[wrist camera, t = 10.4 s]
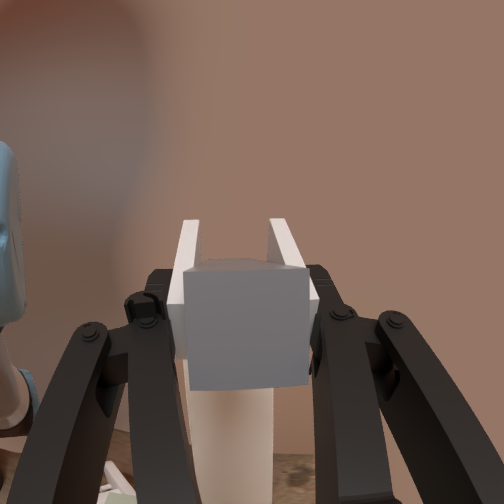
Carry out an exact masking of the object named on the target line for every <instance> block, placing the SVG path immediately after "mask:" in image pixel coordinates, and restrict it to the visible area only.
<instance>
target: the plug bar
mask: <svg viewBox="0 0 504 504" xmlns="http://www.w3.org/2000/svg"><path fill="white" fill-rule="evenodd" d="M183 290H184V313H185V331H186V347H187V361H188V374H189V385H190V391H223V390H248V389H264V388H278V387H289V386H299V385H308V379H309V336H310V268H304V267H298V266H292V265H285V264H279V263H273V262H268V261H262V260H256V259H250V258H237V259H236V258H235V259H208V260H206V261H204V262H202V263H200V264H198V265H196V266H194V267H192V268H189V269H187V270H185V271H183Z"/></svg>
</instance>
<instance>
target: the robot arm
mask: <svg viewBox="0 0 504 504" xmlns="http://www.w3.org/2000/svg"><path fill="white" fill-rule="evenodd" d="M267 261H268V262H273V263H279V264H285V265H292V266H298V267H304V268H310V336H309V348H310V345H311V348H312V351H313V356H312V360H311V364H310V368H309V375H311V372H312V388H313V406H314V435H315V480H316V504H402V503H401V502H400V501H399V500H397V499H395V497H394V495H393V491H392V483H391V476H390V469H389V462H388V456H387V450H386V443H385V438H384V432H383V426H382V421H381V416H380V410H381V412H382V414H383V416H384V418H385V420H386V422H387V424H388V426H389V429H390V430H391V433H392V435H393V437H394V439H395V441H396V443H397V446H398V448H399V450H400V452H401V454H402V456H403V458H404V461H405V463H406V465H407V467H408V469H409V472H410V474H411V476H412V478H413V481H414V483H415V485H416V487H417V490H418V492H419V494H420V497H421V499H422V501H423V504H504V464H503V462H502V460H501V458H500V456H499V455H498V453H497V451H496V449H495V447H494V446H493V444H492V442H491V441H490V439H489V437H488V435H487V434H486V432H485V431H484V429H483V427H482V425H481V424H480V422H479V421H478V419H477V417H476V416H475V414H474V412H473V411H472V409H471V408H470V406H469V404H468V403H467V401H466V400H465V398H464V397H463V395H462V393H461V392H460V390H459V389H458V387H457V386H456V384H455V383H454V381H453V380H452V378H451V377H450V375H449V374H448V373H447V371H446V369H445V368H444V366H443V365H442V364H441V362H440V361H439V359H438V358H437V356H436V355H435V354H434V352H433V351H432V349H431V348H430V346H429V345H428V344H427V342H426V341H425V339H424V338H423V337H422V335H421V334H420V333H419V331H418V330H417V329H416V327H415V326H414V324H413V323H412V322H411V320H410V319H409V318H408V317H407V316H406V315H404V314H402V313H400V312H397V311H385V312H383V313H381V315H380V316H379V318H378V320H375V319H368V318H362V317H359V316H358V315H357V313H356V311H355V310H354V309H353V308H352V307H350V306H348V305H346V304H344V303H343V301H342V299H341V297H340V295H339V293H338V291H337V289H336V287H335V285H334V283H333V281H332V280H331V277H330V275H329V274H328V272H327V270H326V269H324V268H323V267H322V266H321V265H305V264H304V262H303V259H302V257H301V255H300V253H299V250H298V248H297V246H296V244H295V241H294V239H293V237H292V234H291V232H290V230H289V228H288V226H287V223H286V221H285V219H270V220H269V237H268V253H267ZM200 263H201V247H200V229H199V220H184V223H183V227H182V232H181V236H180V240H179V245H178V249H177V254H176V259H175V264H174V269H155V270H154V271H153V272H152V273H151V274H150V275H149V277H148V280H147V283H146V287H145V291H140V292H136V293H134V294H132V295H130V296H129V297H128V298H127V299H126V300H125V303H124V307H125V311H126V315H127V319H128V322H129V324H128V325H126V326H124V327H120V328H116V329H112V330H107V328H106V326H105V325H103V324H102V323H99V322H88V323H85V324H83V325H81V326H80V327H78V328H77V329H76V331H75V332H74V333H73V335H72V337H71V339H70V341H69V343H68V345H67V347H66V350H65V351H64V354H63V356H62V358H61V360H60V362H59V364H58V366H57V368H56V370H55V372H54V375H53V377H52V379H51V381H50V384H49V386H48V388H47V390H46V393H45V395H44V397H43V400H42V402H41V404H40V403H39V399H38V395H37V391H36V387H35V383H34V380H33V378H32V375H31V373H30V372H29V371H28V370H22V369H16V368H15V367H14V366H13V365H12V364H11V362H10V358H9V355H8V352H7V348H6V344H5V340H4V336H3V330H4V327H5V325H7V324H8V323H10V322H16V321H18V320H20V318H22V317H23V315H24V313H25V308H26V282H25V269H24V254H23V241H22V230H21V207H20V189H19V175H18V168H17V162H16V158H15V155H14V154H13V152H12V150H11V149H10V148H9V147H8V145H7V144H5V143H4V142H2V141H0V438H5V437H16V436H28V437H27V440H26V443H25V446H24V448H23V452H22V454H21V457H20V460H19V463H18V466H17V469H16V472H15V475H14V479H13V482H12V485H11V489H10V492H9V496H8V499H7V503H6V504H97V501H98V496H99V490H100V485H101V481H102V476H103V471H104V467H105V462H106V458H107V453H108V449H109V445H110V441H111V436H112V432H113V428H114V424H115V420H116V417H117V413H118V409H119V405H120V402H121V398H122V394H123V390H124V387H125V383H127V382H128V399H129V422H130V439H131V452H132V464H133V473H134V482H135V491H136V498H137V504H202V501H201V497H200V493H199V489H198V484H197V480H196V476H195V471H194V467H193V462H192V457H191V452H190V448H189V443H188V438H187V432H186V427H185V422H184V416H183V410H182V404H181V398H180V392H179V386H178V379H177V372H176V367H175V362H174V359H175V354H176V359H177V360H187V347H186V331H185V313H184V290H183V271H185V270H187V269H189V268H192V267H194V266H196V265H198V264H200ZM379 408H380V410H379ZM1 486H2V476H1V474H0V489H1Z"/></svg>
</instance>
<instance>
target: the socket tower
mask: <svg viewBox="0 0 504 504" xmlns="http://www.w3.org/2000/svg"><path fill="white" fill-rule="evenodd" d="M183 365H184V377H185V387H186V397H187V408H188V418H189V426H190V435H191V443H192V451H193V458H194V466H195V472H196V479H197V484H198V489H199V493H200V497H201V501H202V504H272V474H273V388H264V389H248V390H223V391H190V385H189V374H188V361H187V360H183Z"/></svg>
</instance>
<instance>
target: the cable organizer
mask: <svg viewBox="0 0 504 504" xmlns="http://www.w3.org/2000/svg"><path fill="white" fill-rule="evenodd" d="M104 473H105V476H106V479H107V482H108V484H107V485H104V486H100V492H101V493H99V496H98V501H97V504H104V503H105V501H106V498H107V496H108V494H109V492H113V493H119V494H126V495H134V496H136V491H135V490H134V489H133V488H132V486H131V485H130V484H129V483H128V481H127V480H126V479H125V478H124V476H123V475H122V474H121V472H120V471H119V470H118V468H117V467H116V466H115V464H114V463H113V462H112V461H106V462H105V467H104ZM108 489H110V491H106V492H103V491H104V490H108Z"/></svg>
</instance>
